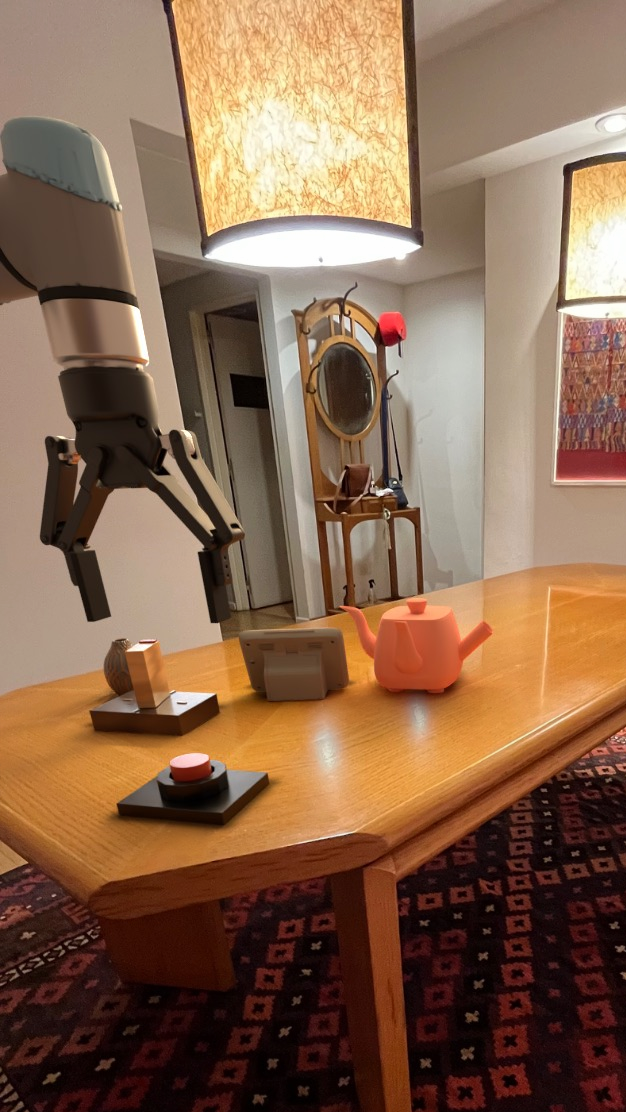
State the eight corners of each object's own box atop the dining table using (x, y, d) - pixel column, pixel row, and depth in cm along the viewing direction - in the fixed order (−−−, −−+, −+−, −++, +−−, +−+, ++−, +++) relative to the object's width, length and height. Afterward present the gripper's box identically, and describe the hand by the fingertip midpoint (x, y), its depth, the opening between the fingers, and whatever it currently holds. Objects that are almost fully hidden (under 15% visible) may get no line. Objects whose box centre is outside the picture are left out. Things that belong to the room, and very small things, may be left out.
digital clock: (354, 686, 112) (349, 621, 107) (338, 703, 104) (331, 634, 99) (262, 684, 114) (252, 621, 109) (239, 701, 106) (228, 633, 101)
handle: (155, 707, 94) (142, 649, 91) (137, 708, 94) (123, 649, 90) (170, 694, 100) (158, 639, 96) (153, 695, 100) (140, 639, 96)
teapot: (402, 709, 100) (397, 615, 94) (345, 682, 114) (337, 598, 108) (497, 686, 110) (498, 599, 104) (434, 664, 123) (431, 585, 117)
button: (164, 781, 70) (161, 766, 69) (186, 766, 74) (183, 751, 73) (199, 784, 69) (196, 768, 68) (219, 769, 73) (216, 754, 72)
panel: (93, 730, 95) (88, 709, 94) (138, 708, 104) (134, 688, 103) (182, 736, 92) (177, 714, 91) (220, 712, 101) (216, 692, 100)
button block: (120, 822, 70) (111, 787, 68) (176, 782, 79) (169, 750, 77) (225, 832, 67) (218, 796, 66) (270, 790, 76) (265, 757, 74)
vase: (131, 685, 115) (119, 634, 111) (164, 688, 113) (152, 636, 109) (100, 697, 110) (86, 643, 106) (134, 700, 107) (121, 646, 103)
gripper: (258, 366, 59) (290, 613, 68) (15, 383, 64) (76, 611, 73) (214, 353, 52) (257, 629, 62) (-53, 373, 57) (24, 626, 66)
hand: (159, 620), depth 67 cm, fingers open, 13 cm apart
